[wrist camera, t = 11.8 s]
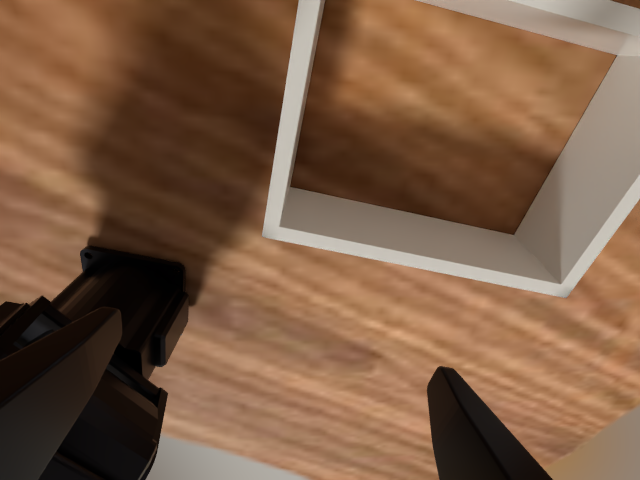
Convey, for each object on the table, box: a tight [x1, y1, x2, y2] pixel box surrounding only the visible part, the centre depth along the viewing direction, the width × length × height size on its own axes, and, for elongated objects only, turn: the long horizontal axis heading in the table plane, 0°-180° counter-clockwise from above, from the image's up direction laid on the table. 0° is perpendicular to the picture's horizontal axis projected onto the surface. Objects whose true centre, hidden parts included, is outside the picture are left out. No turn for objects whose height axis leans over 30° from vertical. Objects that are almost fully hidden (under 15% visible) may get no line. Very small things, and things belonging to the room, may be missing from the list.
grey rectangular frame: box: [262, 0, 640, 298], centre depth 16 cm, size 15×11×5 cm
